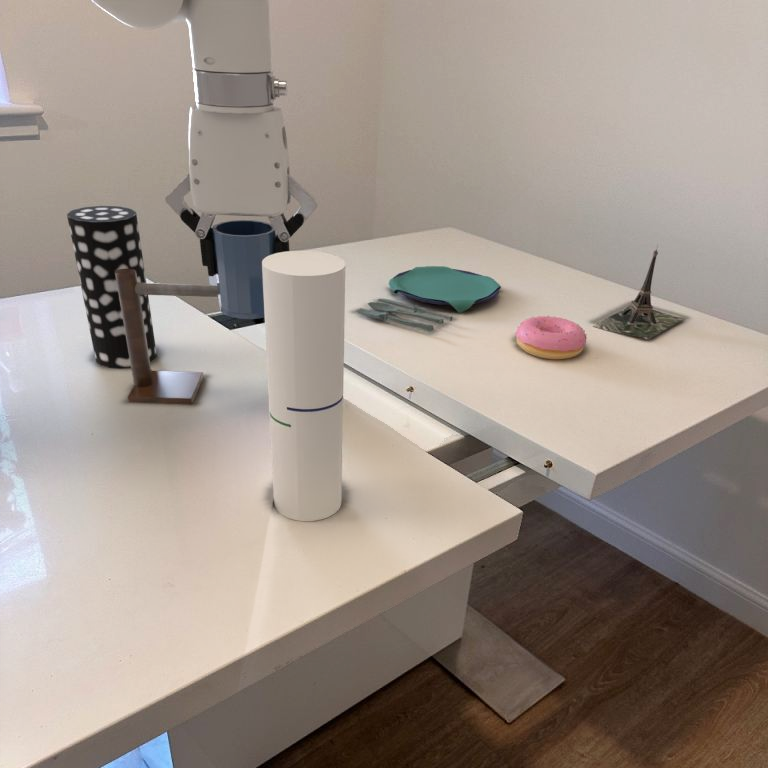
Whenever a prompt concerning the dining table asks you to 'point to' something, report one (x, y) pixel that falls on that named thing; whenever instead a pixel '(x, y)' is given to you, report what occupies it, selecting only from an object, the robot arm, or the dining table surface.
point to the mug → (241, 265)
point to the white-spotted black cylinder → (108, 277)
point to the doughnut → (551, 337)
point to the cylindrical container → (305, 380)
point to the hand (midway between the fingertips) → (247, 272)
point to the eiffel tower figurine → (640, 314)
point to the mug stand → (146, 381)
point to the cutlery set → (434, 293)
